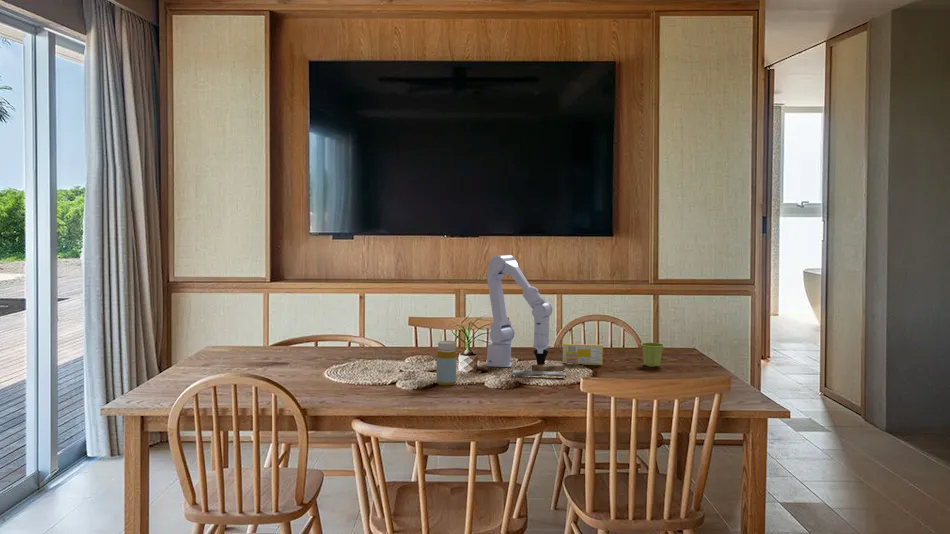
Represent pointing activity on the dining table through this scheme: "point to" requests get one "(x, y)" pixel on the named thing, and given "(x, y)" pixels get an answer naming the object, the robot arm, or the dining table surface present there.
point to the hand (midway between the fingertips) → (540, 368)
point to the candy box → (583, 354)
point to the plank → (548, 367)
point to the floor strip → (537, 373)
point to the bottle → (446, 363)
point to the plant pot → (652, 353)
